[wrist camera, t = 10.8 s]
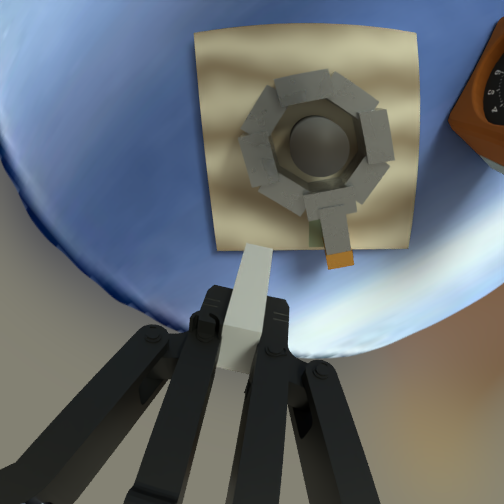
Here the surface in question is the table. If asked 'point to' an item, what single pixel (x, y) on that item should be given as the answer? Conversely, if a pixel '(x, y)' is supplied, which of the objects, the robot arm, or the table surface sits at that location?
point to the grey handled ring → (328, 190)
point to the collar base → (307, 128)
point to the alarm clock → (484, 104)
